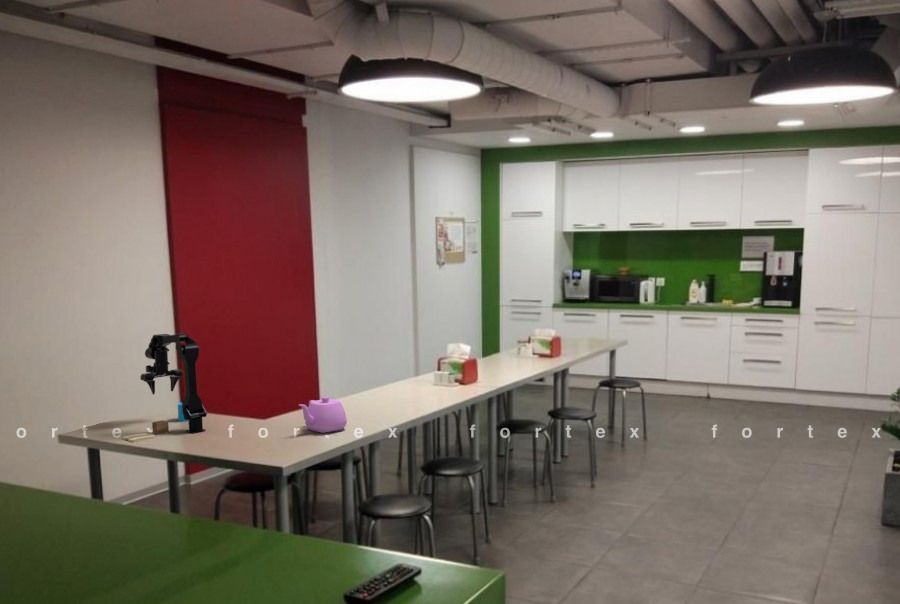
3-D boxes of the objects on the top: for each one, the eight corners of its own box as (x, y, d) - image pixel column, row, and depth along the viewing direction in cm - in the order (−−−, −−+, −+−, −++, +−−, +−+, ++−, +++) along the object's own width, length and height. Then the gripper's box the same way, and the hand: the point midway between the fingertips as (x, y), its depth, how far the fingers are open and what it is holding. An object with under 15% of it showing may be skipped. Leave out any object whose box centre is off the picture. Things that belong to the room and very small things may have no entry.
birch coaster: (155, 437, 315) (155, 435, 315) (133, 442, 307) (133, 440, 307) (144, 434, 321) (144, 432, 321) (122, 438, 313) (122, 437, 313)
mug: (189, 422, 344) (189, 405, 344) (174, 421, 346) (174, 404, 345) (204, 416, 356) (203, 400, 355) (189, 416, 358) (188, 399, 357)
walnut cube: (168, 432, 324) (168, 421, 324) (158, 434, 320) (157, 423, 320) (163, 431, 327) (162, 420, 327) (152, 433, 323) (152, 422, 323)
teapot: (325, 422, 339) (324, 390, 338) (352, 429, 324) (351, 396, 323) (283, 431, 323) (282, 398, 322) (310, 439, 308) (309, 404, 307)
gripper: (171, 356, 353) (172, 388, 354) (134, 361, 339) (135, 393, 340) (183, 358, 346) (184, 390, 347) (145, 363, 332) (147, 396, 333)
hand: (162, 392), depth 342 cm, fingers open, 9 cm apart
